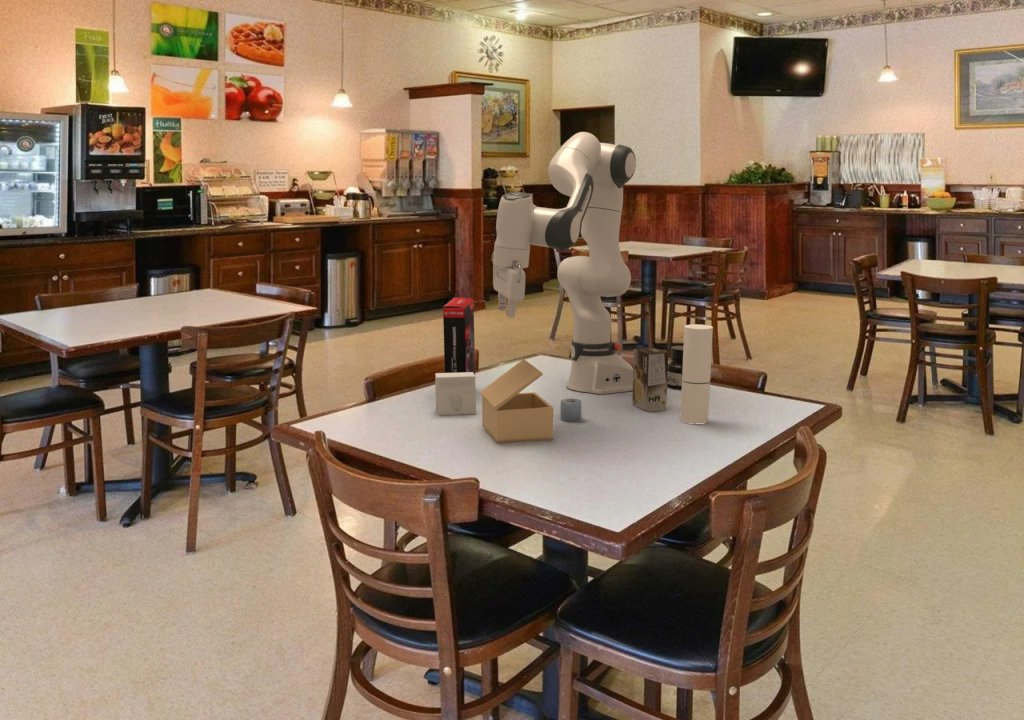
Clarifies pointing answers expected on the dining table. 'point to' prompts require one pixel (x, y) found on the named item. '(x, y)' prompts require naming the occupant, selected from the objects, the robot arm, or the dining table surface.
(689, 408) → the cylindrical container
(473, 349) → the graphics card box
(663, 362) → the coffee box
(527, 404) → the carton
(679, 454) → the dining table surface
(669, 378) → the ink bottle
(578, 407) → the tape roll
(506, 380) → the lid flap
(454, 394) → the skincare box
